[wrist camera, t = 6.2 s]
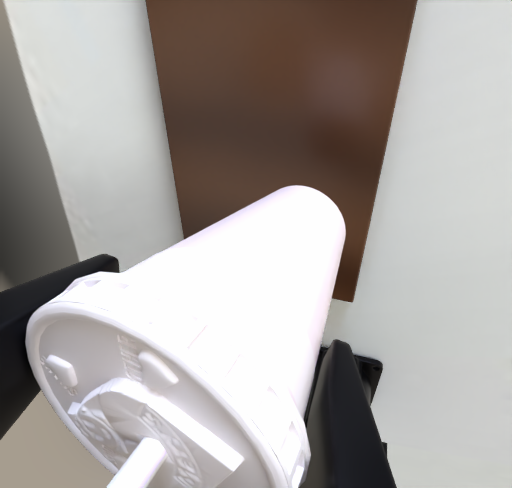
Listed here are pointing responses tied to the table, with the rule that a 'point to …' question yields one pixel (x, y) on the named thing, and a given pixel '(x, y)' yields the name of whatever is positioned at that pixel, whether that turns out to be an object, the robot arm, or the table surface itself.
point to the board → (280, 104)
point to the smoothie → (199, 350)
